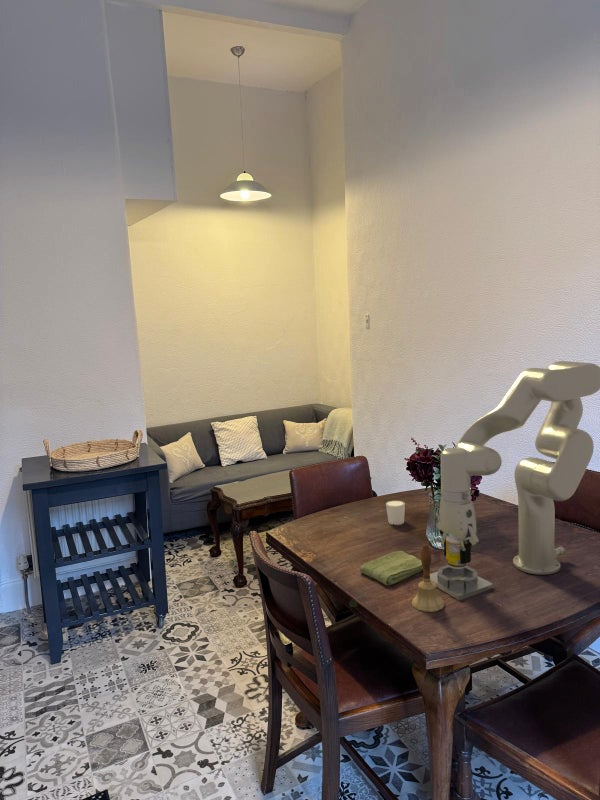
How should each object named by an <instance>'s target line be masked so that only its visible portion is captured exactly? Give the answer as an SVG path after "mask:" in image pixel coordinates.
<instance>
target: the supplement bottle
mask: <svg viewBox="0 0 600 800" xmlns="http://www.w3.org/2000/svg"><path fill="white" fill-rule="evenodd" d="M464 542H465V545H466V544H467V541H466V540H465V541H464ZM460 550H462V548H461V544H460V540H459V539H458V538H456V537H454V536H453V535H452V534H451V533H449V535H447V536H446V556H445V558H446V566H447V565H448V566H449V567H451V568H454V569H463V568H465V567H467V566H468V564H469V563H466V564H463V565H462V564H461V563H460Z"/></svg>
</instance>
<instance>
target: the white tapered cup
mask: <svg viewBox="0 0 600 800" xmlns="http://www.w3.org/2000/svg"><path fill="white" fill-rule="evenodd" d="M385 507H386V513H387V514H386V515H387V520H388V521H387V522H389V524H390V525H393V524H394V525H395V526H400V525H403V524H404V523H405V510H406V509H405V507H406V502H404V501H402V500H389V501H387V502H385Z"/></svg>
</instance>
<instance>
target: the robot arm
mask: <svg viewBox="0 0 600 800" xmlns="http://www.w3.org/2000/svg"><path fill="white" fill-rule="evenodd" d="M598 391H600V366H599V365H597V364H595V363H591V362H581V361H579V362H578V361H567V360H566V361H565V360H563V361H562V360H561V361H560V360H559V361H554V362H552V363H550V364H549V365H548V366H547V367H546V368H542V367H541V368H540V367H530V368H526V369H524V370H523V371H522V372H520V374H519V375H518V376H517V377H516V379H515V380H514V382H513V383H512V385H510V387H509V389H508V390H507V392H506V393H505V394H504V396H503V397H502V399H501V400H500V402H499V403H498V405H497V406H496V407H495V408H493V410H491V411H489V412H488V413H485V415H483V416H481V417H480V418H479V419H477V420H476V421H474V422H473V423H472V424H471V425H470V426H468V427H467V429H466V430H465V431H464V433H463V435H462V436H461V437H460V439H459V440H458V441H457V443H456V444H455V447H454V448H453V447H452V448H445V449H444V450H442V451H441V453H440V481H441V482H440V484H441V485H440V486H441V487H440V489H441V498H440V501H439V508H438V509H439V511H438V514H439V516H438V522H437V523H436V528H437V530H438V531H439V534H440V535H441V541H442V542H443V555H444V557H446V536H447V535H449V533H451V534H452V535H453V536H454V537H456V538H458V539H459V540H460V544H461V548H462V550H460V563H461V564H462V565H463V564H466V563H468V564H470V563H471V562H472V557H471V556H472V555H471V554H472V552H471V550H472V549H473V548H474V546H475V545H477V544H478V543H479V541H480V540H479V537H478V536H477V518H476V511H475V507H474V502H473V501H472V499H473V497H472V496H471V495H472V494H471V476H472V477H473V476H481V477H483V476H492V475H493V474H496V473H497V472H499V470H500V468H501V467H502V462H503V461H502V456H501V455H500V454H499V452H497V450H495V449H493V448H491V447H488V446H486V443H488V442H489V441H490V440H491V439H492V438H494V437H495V436H498V435H500V434H503V433H506V432H511V431H513V430H517V429H519V428H521V427H523V426H524V425H525V424H526V422H527V421H528V419H530V417H531V415H532V414H533V412H534V411H535V410H536V409H537V407H538V406H539V404H540V403H541V401H546V402H550V403H551V404H550V407H549V409H548V412H547V414H546V416H545V418H544V421H543V422H542V424H541V427H540V428H539V431H538V433H537V435H536V438H535V440H534V441H535V442H534V446H535V450H536V451H538V453H540V454H541V455H544V456H545V457H548V458H550V459H551V458H552V459H555V461H554V462H552V461H549V460H547V459H543V458H538V457H531V456H530V457H525V458H523V459H521V460H520V461H519V462H518V463H517V465H516V466H515V468H514V483H515V487H516V492H517V499H518V500H517V503H518V506H517V507H518V513H517V514H518V515H517V516H518V522H517V523H518V554H517V555H515V556H514V557H513V559H512V564H513V566H514V567H515V568H516V569H518V570H519V571H520V572H521V571H522V572H524V573H528V574H531V575H532V574H533V575H542V576H543V575H545V576H547V575H552V574H556V573H558V572H559V571H560V570H561V562H560V561H559V560H558V559H557V557H559V555H563V554H565V553H566V550H565V548H564V547H563V546H559V547H556V548H555V539H556V537H555V535H556V534H555V531H556V529H555V522H556V519H555V515H556V514H555V512H556V511H555V509H556V508H555V502H554V501H557V502H564V501H566V500H568V499H570V498H571V497H572V496H574V494H575V492H576V490H577V488H578V487H579V485H580V483H581V480H582V479H583V476H584V475H585V472H586V471H587V468H588V467H589V464H590V461H591V459H592V457H593V454H594V440H593V437H592V436H591V435H590V433H588V431H585V430H583V429H581V428H578V427H579V424H580V422H581V419H582V417H583V411H584V405H583V402H582V399H581V398H583V397H588V396H591V395H594V394H596V393H597V392H598ZM465 540H466V541H467V544H466V545H465V542H464V541H465Z"/></svg>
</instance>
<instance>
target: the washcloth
mask: <svg viewBox="0 0 600 800" xmlns="http://www.w3.org/2000/svg"><path fill="white" fill-rule="evenodd" d="M359 571H360V573H361V574H363V575H366V576H368V578H371V579H374V580H376V581H377V582H379V583H381V584H383V585H384V586H391V585H395V584H396V583H400V582H402V581H404V580H406V579H408V578H410V577H412V576H413V575H416V574H418V573H420V572H422V571H423V565H422V562H421V559H419V558H418V557H416V556H415V555H413V554H408V553H406V552H405V551H403V550H398V551H392V552H388V554H386V555H381V556H380V557H378V558H376V559H371V560H370V561H368V562H364V563H363V564H362V565H361V566H360V568H359Z"/></svg>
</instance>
